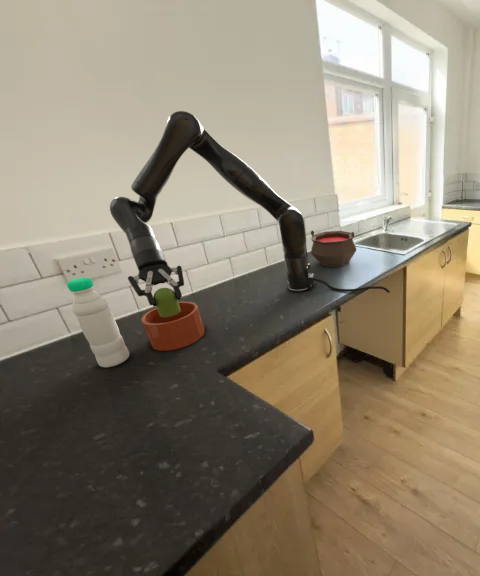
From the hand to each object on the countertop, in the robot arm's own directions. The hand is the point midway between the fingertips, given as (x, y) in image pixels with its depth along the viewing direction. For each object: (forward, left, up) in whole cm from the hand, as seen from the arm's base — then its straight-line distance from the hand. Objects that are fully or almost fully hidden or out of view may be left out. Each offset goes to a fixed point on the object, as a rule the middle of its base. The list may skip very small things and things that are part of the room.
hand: (167, 301), depth 94 cm
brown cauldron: (-43, -66, -13) cm, 80 cm away
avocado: (+1, -1, -4) cm, 5 cm away
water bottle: (+13, +10, -13) cm, 21 cm away
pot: (+1, -1, -13) cm, 13 cm away
